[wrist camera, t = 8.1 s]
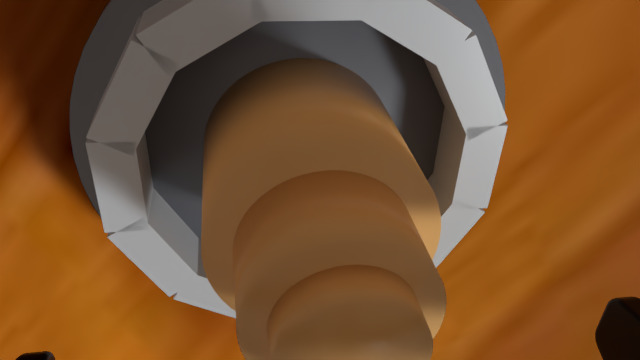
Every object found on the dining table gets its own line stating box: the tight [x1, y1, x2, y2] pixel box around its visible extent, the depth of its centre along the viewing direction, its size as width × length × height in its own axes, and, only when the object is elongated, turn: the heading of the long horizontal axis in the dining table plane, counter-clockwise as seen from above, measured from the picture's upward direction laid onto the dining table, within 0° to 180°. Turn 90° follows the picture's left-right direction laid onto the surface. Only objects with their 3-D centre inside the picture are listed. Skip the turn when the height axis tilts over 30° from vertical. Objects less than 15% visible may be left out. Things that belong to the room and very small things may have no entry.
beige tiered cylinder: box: [201, 58, 446, 360], centre depth 12 cm, size 5×5×7 cm
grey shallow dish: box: [70, 0, 508, 318], centre depth 14 cm, size 11×11×2 cm
